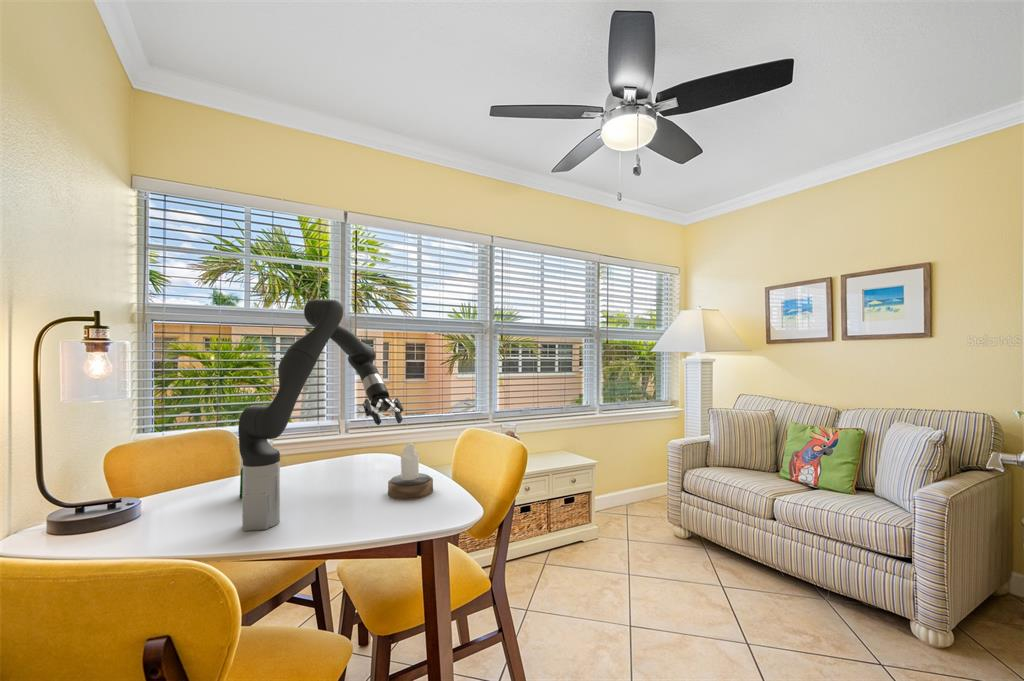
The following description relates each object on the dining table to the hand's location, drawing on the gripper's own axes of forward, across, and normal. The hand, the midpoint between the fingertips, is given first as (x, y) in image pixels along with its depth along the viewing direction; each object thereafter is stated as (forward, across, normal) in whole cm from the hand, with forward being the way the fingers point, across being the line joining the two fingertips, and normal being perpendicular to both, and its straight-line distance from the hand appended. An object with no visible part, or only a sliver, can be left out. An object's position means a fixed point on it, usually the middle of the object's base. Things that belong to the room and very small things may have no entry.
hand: (390, 422), depth 165 cm
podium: (+24, +2, +7) cm, 26 cm away
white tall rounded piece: (+21, +1, +4) cm, 21 cm away
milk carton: (0, -35, +36) cm, 50 cm away
